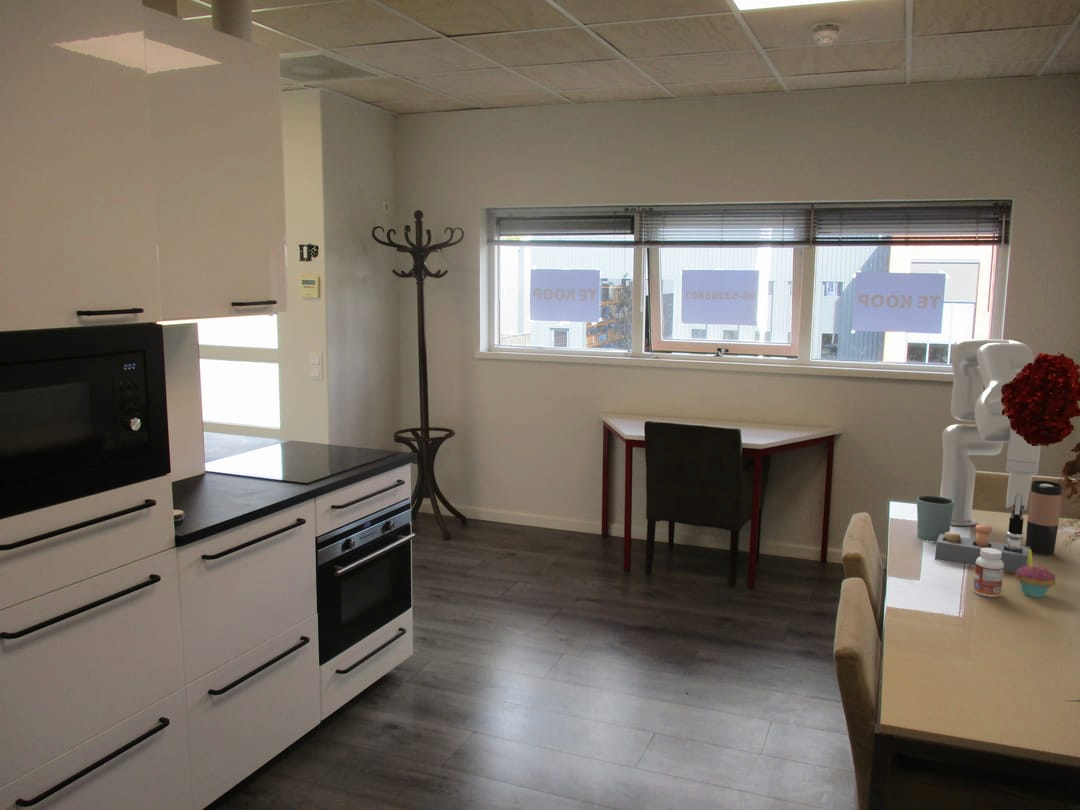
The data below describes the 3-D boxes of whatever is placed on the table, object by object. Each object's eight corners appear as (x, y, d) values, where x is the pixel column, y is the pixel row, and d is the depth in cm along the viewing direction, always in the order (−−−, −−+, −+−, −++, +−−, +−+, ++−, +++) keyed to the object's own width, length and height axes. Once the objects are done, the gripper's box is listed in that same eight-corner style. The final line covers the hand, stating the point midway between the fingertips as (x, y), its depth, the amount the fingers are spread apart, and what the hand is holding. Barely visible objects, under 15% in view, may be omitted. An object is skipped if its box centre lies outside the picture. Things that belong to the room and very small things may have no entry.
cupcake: (1014, 596, 207) (1019, 549, 205) (1013, 585, 214) (1018, 540, 212) (1054, 603, 203) (1060, 555, 201) (1052, 591, 210) (1057, 545, 208)
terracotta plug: (974, 544, 234) (976, 523, 233) (990, 546, 232) (992, 525, 231) (973, 548, 230) (975, 526, 229) (989, 550, 228) (991, 529, 227)
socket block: (938, 550, 241) (939, 533, 240) (1026, 564, 230) (1028, 547, 229) (934, 559, 233) (936, 541, 233) (1025, 574, 222) (1027, 556, 222)
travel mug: (1046, 547, 245) (1054, 481, 242) (1060, 556, 238) (1068, 487, 235) (1019, 546, 246) (1026, 480, 243) (1031, 554, 239) (1039, 486, 236)
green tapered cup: (956, 543, 248) (960, 504, 246) (922, 542, 248) (925, 503, 246) (941, 533, 258) (944, 495, 256) (908, 532, 258) (911, 494, 256)
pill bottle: (972, 587, 213) (977, 545, 211) (1000, 591, 210) (1004, 548, 208) (972, 595, 207) (977, 552, 206) (1001, 599, 204) (1005, 556, 203)
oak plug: (943, 551, 238) (945, 531, 237) (959, 554, 236) (961, 533, 235) (941, 555, 235) (943, 534, 234) (957, 558, 233) (959, 537, 232)
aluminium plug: (1004, 550, 230) (1006, 529, 229) (1021, 553, 228) (1023, 532, 227) (1003, 554, 227) (1006, 533, 226) (1020, 557, 225) (1023, 535, 224)
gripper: (1007, 459, 232) (1000, 524, 235) (1005, 469, 219) (998, 537, 222) (1038, 463, 228) (1031, 528, 231) (1038, 473, 215) (1030, 542, 218)
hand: (1015, 532), depth 226 cm, fingers closed
